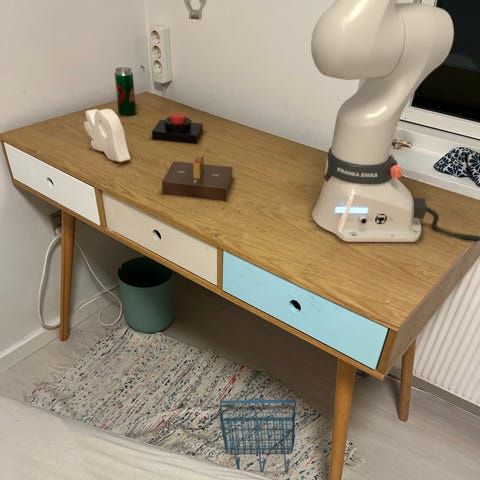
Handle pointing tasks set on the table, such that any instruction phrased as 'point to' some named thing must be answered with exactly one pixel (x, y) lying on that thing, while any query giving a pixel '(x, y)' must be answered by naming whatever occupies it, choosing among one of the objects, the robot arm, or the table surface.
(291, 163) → the table surface
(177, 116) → the lock button
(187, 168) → the lock plate
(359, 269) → the table surface
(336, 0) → the robot arm
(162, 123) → the button base
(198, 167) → the lock turn
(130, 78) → the soda can
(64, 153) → the table surface
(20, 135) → the table surface
